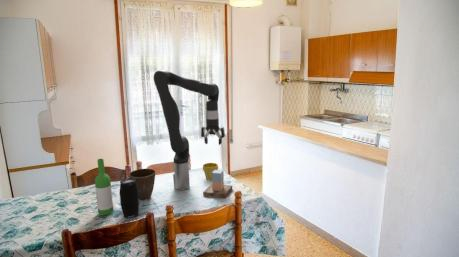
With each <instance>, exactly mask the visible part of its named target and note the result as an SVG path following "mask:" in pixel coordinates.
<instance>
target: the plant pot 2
mask: <svg viewBox="0 0 459 257" xmlns="http://www.w3.org/2000/svg"><path fill="white" fill-rule="evenodd" d="M214 170H219V165H218V163H215V162H208V163H207V162H206V163H204V164H202V171H203V172H204V176H205V179H206V180H207V181H212V172H213V171H214Z"/></svg>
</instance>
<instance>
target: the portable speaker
mask: <svg viewBox="0 0 459 257" xmlns="http://www.w3.org/2000/svg"><path fill="white" fill-rule="evenodd" d="M119 181H120V182H119V183H120V184H119V200H120V207H121V208H120V209H121V211H122V215H123V217H124V218H125V219H129V218H131V217H135V218H136V217H138V216H139V211H140V200H139V195H138V187H137V183H136V179H135V178H130V177H129V178H124V179H121V180H119Z"/></svg>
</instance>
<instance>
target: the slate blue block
mask: <svg viewBox="0 0 459 257" xmlns="http://www.w3.org/2000/svg"><path fill="white" fill-rule="evenodd" d="M224 175H225V174H224V170H223V169H218V170H214V171H213V172H212V180H211V182H212V181H213V182H221V181H222V180H223V179H225V178H224Z"/></svg>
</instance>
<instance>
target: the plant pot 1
mask: <svg viewBox="0 0 459 257" xmlns="http://www.w3.org/2000/svg"><path fill="white" fill-rule="evenodd" d="M128 177H129V178H135V179H136V183H137V187H138V195H139V202H140V201H142V202H144V201H148V200H150V199H151V198H152V195H153V191H154V187H155V180H156V170H155V169H152V168H139V169H135V170H133V171H131V172H129V174H128Z"/></svg>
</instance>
